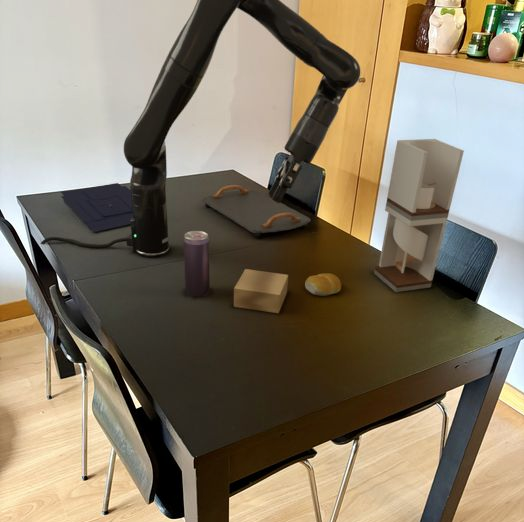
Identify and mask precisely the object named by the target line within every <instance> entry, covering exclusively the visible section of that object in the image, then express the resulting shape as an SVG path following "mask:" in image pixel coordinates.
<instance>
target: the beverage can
mask: <svg viewBox="0 0 524 522" xmlns="http://www.w3.org/2000/svg"><path fill="white" fill-rule="evenodd" d="M183 259H184V260H183V261H184V262H183V263H184V287H185V292H186V293H187V295H188V296H189V297H190V296H191V297H194V298H200V297H201V298H202V297H205V296H207V295H208V294H209V293H210V289H211V285H210V281H211V280H210V238H209V234H208V233H207V232H205V231H201V230H191V231H187V232H185V233H184V235H183Z"/></svg>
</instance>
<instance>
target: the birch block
mask: <svg viewBox="0 0 524 522" xmlns="http://www.w3.org/2000/svg"><path fill="white" fill-rule="evenodd" d="M288 284H289V274H285V273H278V272H270V271H263V270H255V269H249V268H248V269H247V268H245V269H244V270H243V273H242V274H241V276H240V278H239V279H238V281H237V282H236V284H235V286H234V288H233V308H239V309H245V310H247V309H248V310H254V311H261V312H267V313H273V314H279V313H280V311H281V308H282V306H283V305H284V301H285V299H286V296H287V293H288Z"/></svg>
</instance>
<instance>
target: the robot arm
mask: <svg viewBox="0 0 524 522" xmlns="http://www.w3.org/2000/svg"><path fill="white" fill-rule="evenodd" d="M236 9H238V10H240V11H242V12H244V13H245V14H247V15H248V16H250V17H251V18H252V19H254V20H255V21H256V22H258V23H259V24H260V25H261V26H262V27H263V28H265V29H266V30H267V31H268V33H270V35H272V36H273V37H274V39H276V41H278V42H279V43H280V44H281V45H282V46H283V47H284V48H285V49H286V50H287V51H289V52H290V53H291V54H292V55H294V56H295V57H296V58H297V59H298V60H300V61H301V63H303V64H305V65H306V66H308V67H310V68H313V69H315V70H316V71H317V72H319V73H320V74H321V75H322V77H321V79H320V81H319V83H318V86H317V89H316V91H315V93H314V95H313V97H312V98H311V100H310V101H309V103H308V105H307V107H306V108H305V110H304V112H303V114H302V116H301V117H300V119H299V120H298V121H297V123H296V125H295V127H294V129H293V130H292V132H291V134H290V136H289V138H288V140H287V141H286V143H285V145H284V150H285V151H286V152H287V153H290V155H289V156H288V155H287V156H285V158H284V160H283V161H282V164H281V165H280V167H279V169H278V171H277V173H275V177H274V178H275V179H274V182H273V184H272V186H271V188H270V190H269V191H268V196H271V198H272V200H273V201H275V202H277V203H282V202H281V201H282V200H283V198H284V197H285V195H286V193H287V191H289V190H290V189H292V188H293V185H294V183H295V181H296V179H297V177H298V176H299V174H300V172H301V170H302V169H303V165H302V162H304V163H306V164H307V165H308V164H311V163H312V161H313V159H314V158H315V157H316V155H317V153H318V151H319V149H320V148H321V145H322V144H323V142H324V141H325V139H326V136H327V134H328V131H329V129H330V127H331V126H332V124H333V122H334V121H335V118H336V117H337V114H338V113H339V111H340V110H339V109H340V104H341V102H342V100H343V99H344V97H345V96H346V93H347V92H348V90H349V89H351V88H353V87H354V86H355V85H357V83H358V82H359V80H360V77H361V66H360V64H359V62H358V60H357V59H356V58H355V57H354V56H353V55H352V54H351V53H349V52H348V51H346V50H345V49H343V48H342V47H340V46H339V45H337V44H336V43H334V42H333V41H331V40H329V39H328V38H327V37H326V36H325V35H324V34H323V33H321V32H320V30H318V29H317V28H316V27H315V26H314V25H312V24H311V23H310V22H309V21H307V20H306V19H305V18H303V17H302V16H301V15H300V14H298V13H297V12H296V11H294V10H293V9H291V8H290V7H289V6H287V5H286V4H285V3H283V2H282V1H281V0H196V3H195V5H194V8H193V10H192V11H191V14H190V16H189V18H188V19H187V21H186V22H185V24H184V26H183V27H182V29H181V30H180V32H179V34H178V35H177V37H176V39H175V40H174V43H173V44H172V46H171V48H170V50H169V51H168V54H167V56H166V57H165V60H164V62H163V64H162V66H161V68H160V70H159V72H158V76H157V78H156V80H155V82H154V84H153V87H152V89H151V92H150V94H149V97H148V99H147V102H146V104H145V107H144V109H143V111H142V113H141V114H140V115H139V118H138V119H137V120H136V123H135V124H134V125H133V127H132V128H131V130H130V132H129V133H128V134H127V136H126V137H125V139H124V143H123V155H124V157H125V160H126V162H127V163H128V164H129V165H130V166H131V168H132V169H131V175H130V179H129V189H130V190H131V200H132V211H133V218H132V219H131V221H130V223H131V224H130V234H129V235H128V236H127V237H121V238H117V239H114V240H111V241H110V242H108V243H102V244H95V243H94V244H93V243H87V242H82V241H78V240H76V239H72V238H66V237H59V236H49V237H46V238H45V239H43V240H42V241H41V242H40V245H45V244H47V243H48V242H53V241H58V242H64V243H71V244H74V245H77V246H80V247H83V248H84V247H85V248H92V249H104V248H110V247H112V246H113V245H115V244H117V243H123V242H126V247H132V252H133V253H135V254H137V255H139V256H142V257H145V258H156V257H162V256H166V255H168V253H169V251H170V244H169V227H168V226H169V224H168V209H167V206H168V205H167V189H166V188H167V187H166V184H167V183H166V182H167V177H168V176H167V175H168V172H167V171H168V170H167V169H168V168H167V166H168V165H167V145H166V138H167V136H168V134H169V132H170V129H171V128H172V126H173V125H174V124H175V122H176V120H177V119H178V117H179V116H180V115H181V114H182V112H183V111H184V110H185V109H186V107H187V106H188V105H189V103H190V101H191V100H192V98H193V97H194V94H195V93H196V92H197V90H198V88H199V86H200V85H201V82H202V81H203V79H204V78H205V75H206V73H207V71H208V69H209V66H210V64H211V61H212V60H213V59H212V58H213V56H214V53H215V50H216V47H217V44H218V41H219V39H220V36H221V34H222V32H223V30H224V28H225V27H226V25H227V24H228V22H229V21H230V19H231V17H232V16H233V14H234V13H235V11H236Z"/></svg>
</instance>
